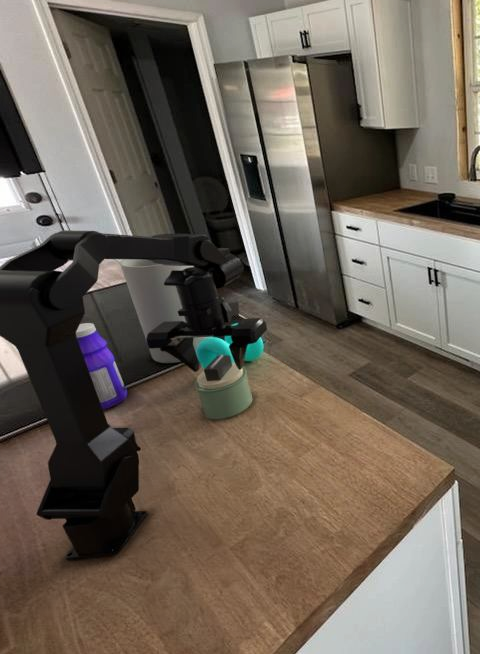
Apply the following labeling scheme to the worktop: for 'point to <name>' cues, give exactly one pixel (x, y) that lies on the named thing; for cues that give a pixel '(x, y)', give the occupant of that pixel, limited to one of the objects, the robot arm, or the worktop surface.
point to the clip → (218, 368)
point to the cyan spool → (224, 349)
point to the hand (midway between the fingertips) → (219, 369)
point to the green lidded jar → (224, 393)
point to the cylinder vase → (154, 299)
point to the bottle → (101, 366)
